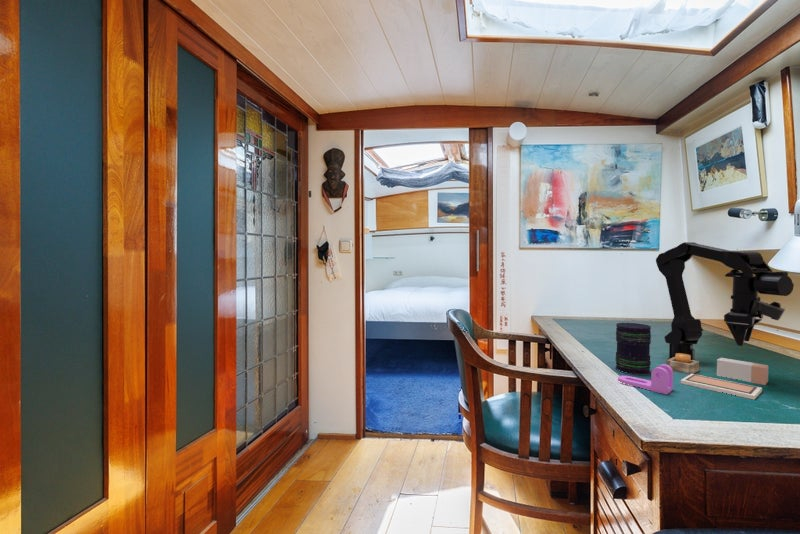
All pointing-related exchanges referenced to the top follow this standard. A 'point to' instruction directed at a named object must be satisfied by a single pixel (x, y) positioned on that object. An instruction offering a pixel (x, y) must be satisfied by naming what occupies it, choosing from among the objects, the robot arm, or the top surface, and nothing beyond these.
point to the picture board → (722, 386)
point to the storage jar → (633, 348)
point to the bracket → (653, 380)
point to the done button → (683, 358)
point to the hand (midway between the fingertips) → (743, 343)
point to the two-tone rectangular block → (742, 370)
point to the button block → (683, 366)
